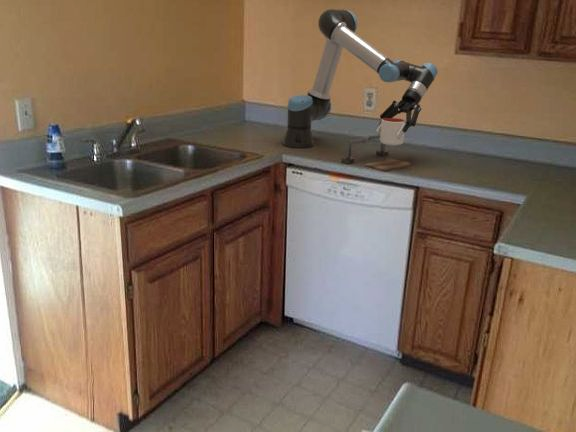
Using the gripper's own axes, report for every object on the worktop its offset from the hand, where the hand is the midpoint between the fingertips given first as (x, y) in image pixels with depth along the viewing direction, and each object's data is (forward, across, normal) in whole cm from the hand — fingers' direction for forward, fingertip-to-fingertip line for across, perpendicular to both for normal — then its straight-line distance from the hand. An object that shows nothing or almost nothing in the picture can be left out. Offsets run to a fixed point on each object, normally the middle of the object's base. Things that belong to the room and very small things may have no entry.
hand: (387, 135), depth 229 cm
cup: (+1, 0, -5) cm, 5 cm away
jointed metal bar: (+7, +14, -12) cm, 20 cm away
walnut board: (+8, +1, -12) cm, 14 cm away
